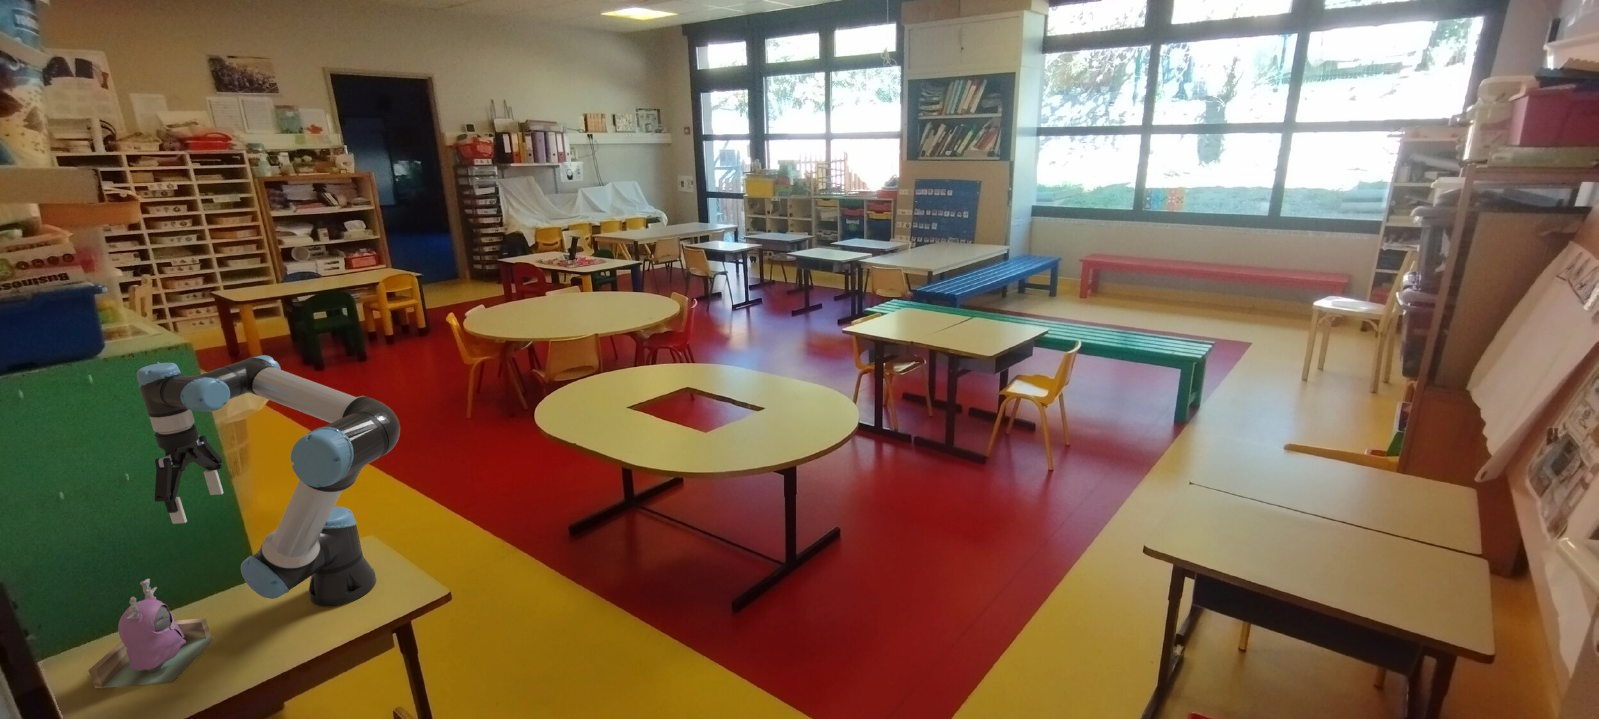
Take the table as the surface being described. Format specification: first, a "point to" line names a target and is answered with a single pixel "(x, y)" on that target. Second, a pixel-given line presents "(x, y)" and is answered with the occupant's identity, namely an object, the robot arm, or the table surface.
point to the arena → (118, 673)
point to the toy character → (149, 632)
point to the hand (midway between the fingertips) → (199, 507)
